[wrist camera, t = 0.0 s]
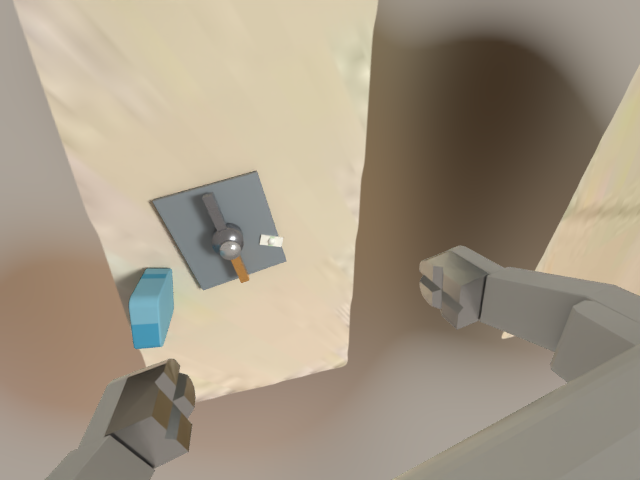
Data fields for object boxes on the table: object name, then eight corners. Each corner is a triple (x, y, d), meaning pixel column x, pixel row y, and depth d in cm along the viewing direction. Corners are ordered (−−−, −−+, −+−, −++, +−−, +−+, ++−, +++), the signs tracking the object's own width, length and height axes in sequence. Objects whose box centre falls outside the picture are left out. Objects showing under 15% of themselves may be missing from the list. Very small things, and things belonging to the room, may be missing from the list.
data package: (147, 265, 53) (127, 301, 43) (172, 265, 54) (158, 300, 44) (151, 310, 57) (134, 353, 47) (174, 309, 59) (162, 350, 49)
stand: (154, 199, 48) (151, 202, 46) (261, 169, 52) (262, 171, 50) (203, 286, 59) (202, 292, 57) (289, 256, 62) (290, 261, 60)
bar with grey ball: (192, 195, 48) (189, 203, 44) (224, 187, 49) (223, 193, 45) (231, 277, 58) (231, 289, 54) (257, 268, 59) (259, 280, 55)
